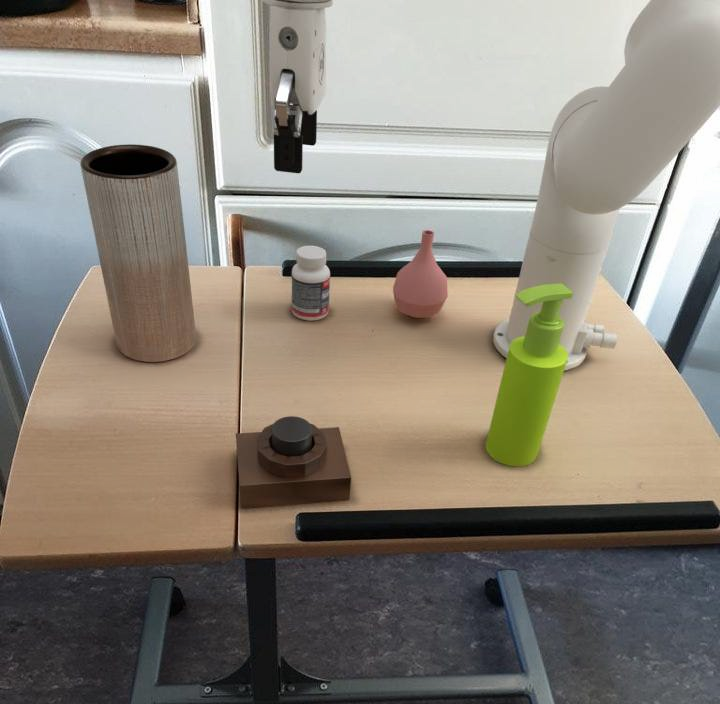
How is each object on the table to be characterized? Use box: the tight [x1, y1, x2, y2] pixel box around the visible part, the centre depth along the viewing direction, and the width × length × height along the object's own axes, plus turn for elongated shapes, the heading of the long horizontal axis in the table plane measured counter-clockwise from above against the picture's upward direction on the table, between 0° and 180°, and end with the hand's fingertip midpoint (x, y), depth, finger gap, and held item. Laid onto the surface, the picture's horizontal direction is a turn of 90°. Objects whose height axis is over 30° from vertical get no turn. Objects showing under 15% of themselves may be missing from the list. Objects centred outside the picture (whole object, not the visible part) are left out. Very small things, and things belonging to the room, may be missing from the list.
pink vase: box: [392, 229, 449, 319], centre depth 96 cm, size 8×8×12 cm
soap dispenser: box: [485, 284, 573, 467], centre depth 73 cm, size 6×7×20 cm
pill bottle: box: [291, 245, 331, 321], centre depth 96 cm, size 5×5×9 cm
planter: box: [79, 143, 197, 363], centre depth 83 cm, size 10×10×23 cm
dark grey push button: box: [272, 415, 312, 457], centre depth 70 cm, size 4×4×2 cm
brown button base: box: [235, 423, 352, 509], centre depth 72 cm, size 11×8×5 cm
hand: (296, 157), depth 85 cm, fingers open, 9 cm apart
